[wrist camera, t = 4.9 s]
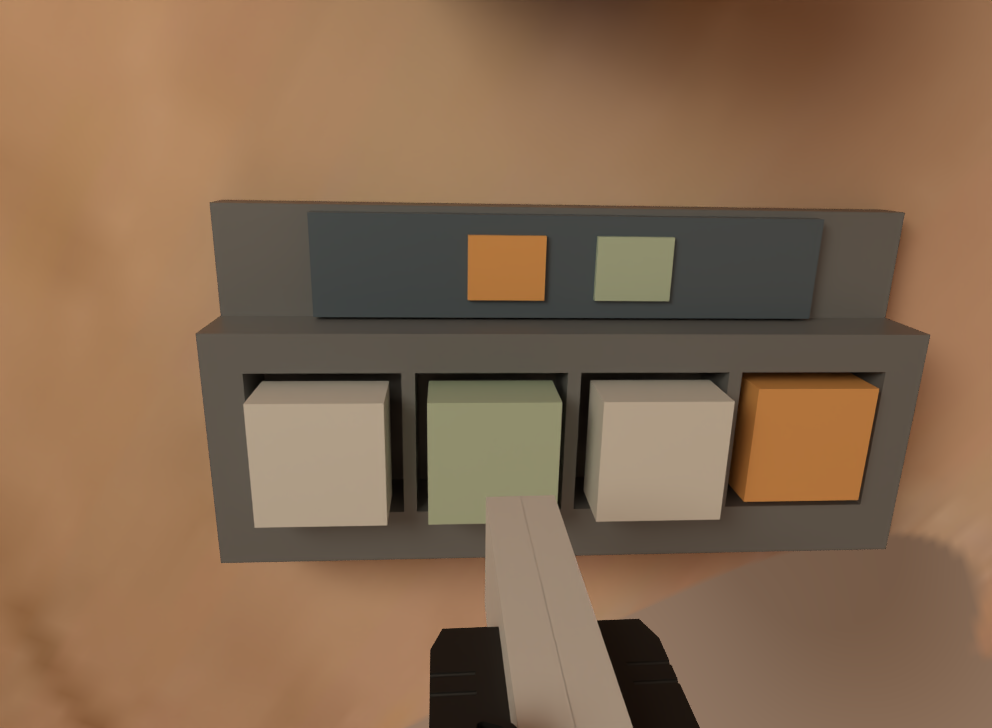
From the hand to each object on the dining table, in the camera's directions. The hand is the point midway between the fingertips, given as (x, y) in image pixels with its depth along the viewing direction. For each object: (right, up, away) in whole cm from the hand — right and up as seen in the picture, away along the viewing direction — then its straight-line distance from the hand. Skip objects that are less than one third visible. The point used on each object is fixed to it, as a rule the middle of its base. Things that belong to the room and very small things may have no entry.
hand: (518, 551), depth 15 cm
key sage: (-1, +2, +7) cm, 7 cm away
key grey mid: (+4, +2, +7) cm, 8 cm away
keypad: (+2, +4, +9) cm, 10 cm away
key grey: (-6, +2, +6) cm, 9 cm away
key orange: (+9, +2, +8) cm, 13 cm away
